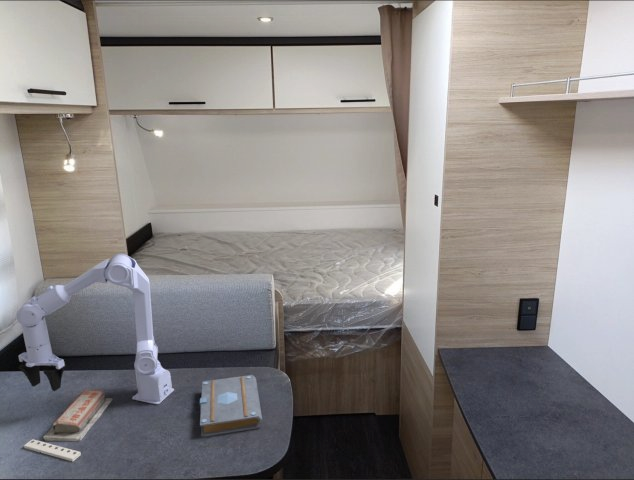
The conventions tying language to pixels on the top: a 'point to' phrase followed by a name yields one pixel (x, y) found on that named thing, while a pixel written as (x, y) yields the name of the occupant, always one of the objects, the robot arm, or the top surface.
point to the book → (229, 405)
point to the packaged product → (79, 417)
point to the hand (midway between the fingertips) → (46, 386)
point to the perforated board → (52, 450)
